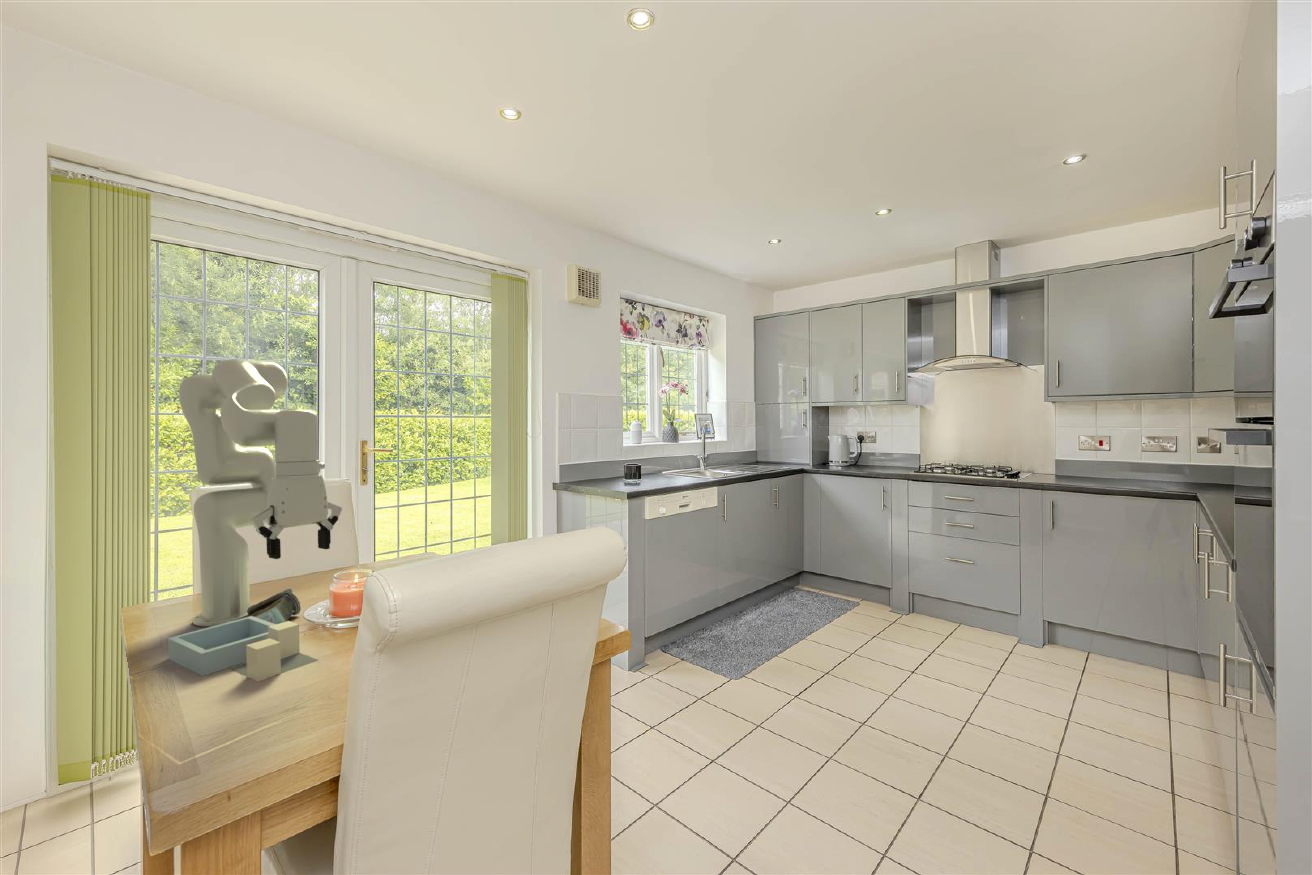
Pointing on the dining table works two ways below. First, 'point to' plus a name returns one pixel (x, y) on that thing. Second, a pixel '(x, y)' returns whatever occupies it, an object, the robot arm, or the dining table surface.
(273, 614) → the dark piece
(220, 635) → the blue bin
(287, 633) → the stone
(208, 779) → the dining table surface
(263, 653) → the stone
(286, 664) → the dark mat
